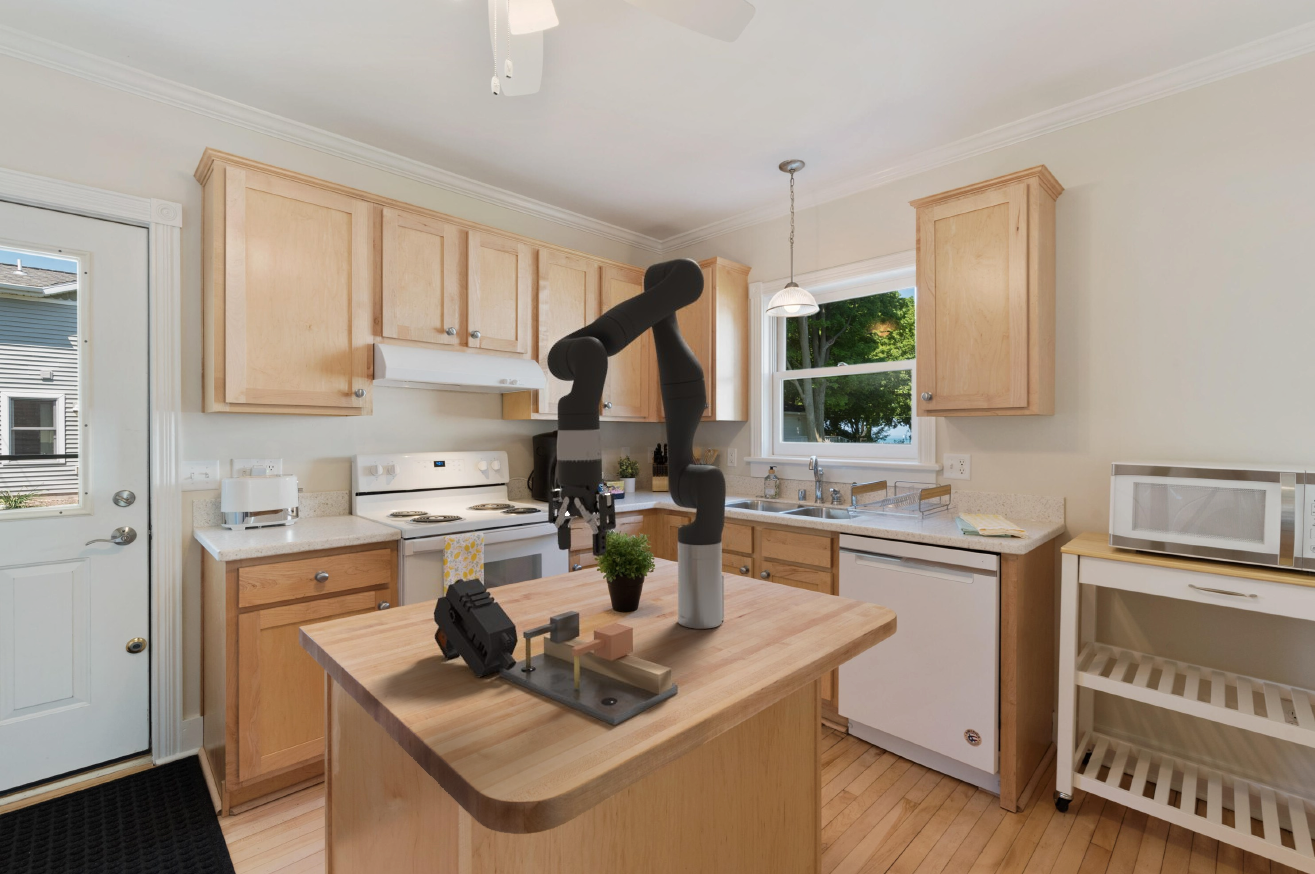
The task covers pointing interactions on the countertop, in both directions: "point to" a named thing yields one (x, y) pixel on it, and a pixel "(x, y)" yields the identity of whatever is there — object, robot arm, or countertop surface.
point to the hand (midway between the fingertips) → (581, 552)
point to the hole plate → (584, 688)
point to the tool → (475, 628)
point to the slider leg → (605, 646)
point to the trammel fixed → (622, 668)
